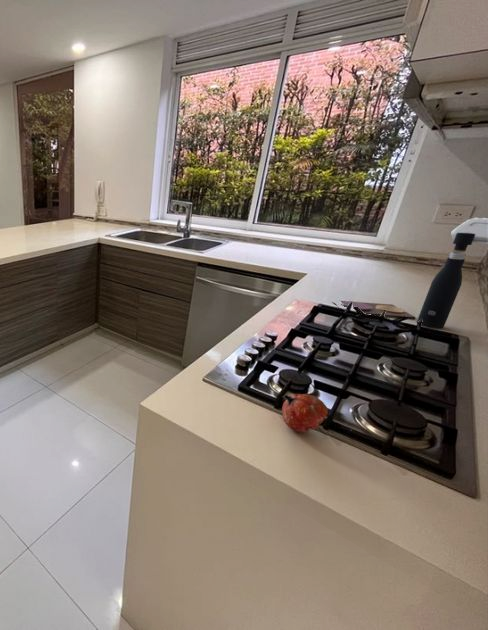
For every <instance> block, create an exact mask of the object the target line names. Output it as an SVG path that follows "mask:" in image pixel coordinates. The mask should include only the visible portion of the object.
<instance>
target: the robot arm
mask: <svg viewBox="0 0 488 630" xmlns="http://www.w3.org/2000/svg"><path fill="white" fill-rule="evenodd" d="M457 233H473V234H476V235H475V237H474V240H473V242H472V244H481V245H488V217H487V216H486V217H483V216H476V217H473V218H469V219H467V220H466V221H464V222H462V223H461V224H460V225H457V226H456V227H455V228H454V229H453V230H452V231H451V232H450V235H451V238H452V239H453V241H454V239H455V236H456V234H457Z"/></svg>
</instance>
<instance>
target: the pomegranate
mask: <svg viewBox="0 0 488 630" xmlns="http://www.w3.org/2000/svg"><path fill="white" fill-rule="evenodd" d="M281 398H282V399H283V398H284V399H286V400H285V401H284V402H283V403H282V407H281V411H282V413H281V415H282V420H283V421H284V423H285V425H286V426H287V427H288V428H289V429H291V430H293V431H294V432H296V433H300V434H301V433H302V434H306V433H307V432H308V431H309V430H315V429H318V430H319V431H320V432H321V433H322V434H324V435H325V436H327V433H326V432H324V431H323V429H322V428H321V427H320V425H321V424H322V423H323V422H324V421H325V419H326V417H327V415H328V414H329V409H328V407H327V404H326V403H325V402H324V401H323V400H321V399H320V398H318V397H317V396H315V395H311V394H308V393H303V394H301V393H295V394H294V395H292V396H289V395H287V394H284V395H283V396H282V397H281Z"/></svg>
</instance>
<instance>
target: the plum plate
mask: <svg viewBox="0 0 488 630" xmlns="http://www.w3.org/2000/svg"><path fill="white" fill-rule="evenodd" d="M344 301H345V302H342V304H341V305H342V306H344V307H347V306H348V304H349V303H350V302H353V307H354V306H356V307H358V308H360V309H361V310H362V311H370V310H372V306H370V305H368V304H364V303H365V302H364V303H360V302H361V301H352V300H351V301H350V300H349V301H348V300H347V301H346V300H344Z"/></svg>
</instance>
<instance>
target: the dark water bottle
mask: <svg viewBox="0 0 488 630" xmlns="http://www.w3.org/2000/svg"><path fill="white" fill-rule="evenodd" d="M475 235H476V234H473V233H457V234H456V236H455V239H454V240H453V241H452V244H453V245H454V248H453V249H452V251H451V252H450V253H449V255H448V257H447V258H446V260H445V263H444V265H443V267H442V268H441V269H440V270H439V271H438V272H437V273H436V274H435V276H434V278H433V279H432V281H431V283H430V287H429V289H428V291H427V294H426V296H425V299H424V302H423V304H422V307H421V310H420V312H419V314H418V317H417V319H416V324H417V323H418V321H419V320H420V319H421V318H423V322H422V325H421V326H423V327H425V326H426V327H425V328H430V329H439V330H440V329H444V328H445V326H446V323H447V321H448V318H449V315H450V314H451V311H452V308H453V306H454V304H455V301H456V298H457V296H458V294H459V291H460V289H461V287H462V283H463V271H462V270H463V269H462V268H463V266H464V263H465V261H466V259H465V257H466V256H467V255H466V251H467V248H468V246H471V245H472V244H473V243H472V242H473V240H474V237H475Z"/></svg>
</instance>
